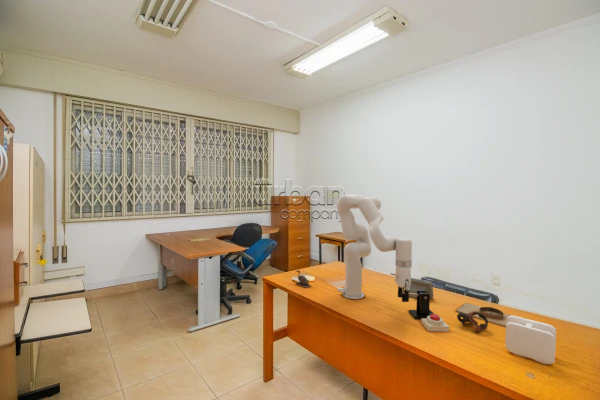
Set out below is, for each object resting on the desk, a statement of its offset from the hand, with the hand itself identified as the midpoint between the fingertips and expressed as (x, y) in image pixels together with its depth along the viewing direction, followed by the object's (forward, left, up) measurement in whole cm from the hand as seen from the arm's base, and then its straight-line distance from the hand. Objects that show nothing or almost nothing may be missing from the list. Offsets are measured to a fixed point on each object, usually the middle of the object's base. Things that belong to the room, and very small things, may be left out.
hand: (403, 299), depth 140 cm
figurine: (-51, +45, -8) cm, 69 cm away
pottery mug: (+27, -12, -8) cm, 31 cm away
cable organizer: (+37, -32, -8) cm, 49 cm away
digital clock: (+18, +26, -8) cm, 33 cm away
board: (+42, +1, -8) cm, 43 cm away
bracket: (+10, 0, -8) cm, 13 cm away
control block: (+10, -12, -8) cm, 18 cm away
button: (+10, -12, -5) cm, 16 cm away
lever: (+5, 0, +1) cm, 5 cm away
